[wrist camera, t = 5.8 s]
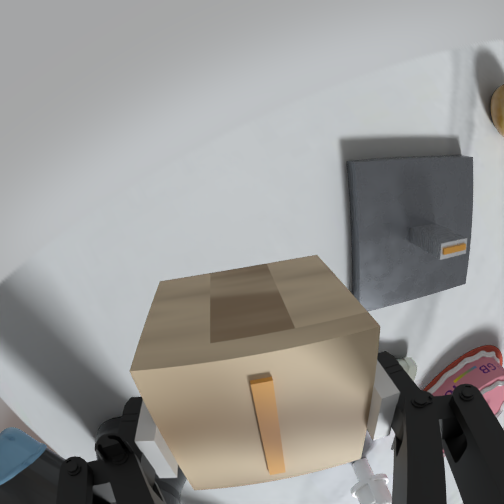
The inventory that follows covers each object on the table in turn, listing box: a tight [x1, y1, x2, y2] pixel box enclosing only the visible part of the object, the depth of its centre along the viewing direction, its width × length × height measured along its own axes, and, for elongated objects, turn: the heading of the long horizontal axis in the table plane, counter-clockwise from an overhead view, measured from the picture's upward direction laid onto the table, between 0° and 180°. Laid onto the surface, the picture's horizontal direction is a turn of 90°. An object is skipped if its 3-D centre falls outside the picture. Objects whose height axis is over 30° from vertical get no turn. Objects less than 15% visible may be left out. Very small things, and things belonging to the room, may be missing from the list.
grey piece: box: [347, 156, 473, 311], centre depth 29 cm, size 16×16×8 cm
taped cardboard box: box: [130, 255, 380, 490], centre depth 14 cm, size 8×8×7 cm
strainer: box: [351, 458, 392, 504], centre depth 40 cm, size 7×7×15 cm
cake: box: [424, 345, 504, 457], centre depth 41 cm, size 25×25×11 cm
